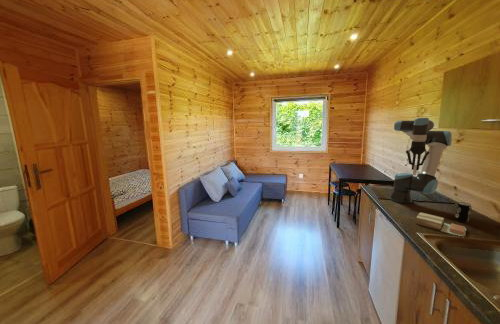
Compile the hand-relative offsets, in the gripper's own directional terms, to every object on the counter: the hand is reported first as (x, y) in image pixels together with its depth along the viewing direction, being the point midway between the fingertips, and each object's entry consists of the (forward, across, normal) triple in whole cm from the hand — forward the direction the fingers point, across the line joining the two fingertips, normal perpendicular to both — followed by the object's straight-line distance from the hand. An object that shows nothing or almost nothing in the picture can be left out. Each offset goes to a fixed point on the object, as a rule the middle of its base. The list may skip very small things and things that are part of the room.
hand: (414, 174), depth 143 cm
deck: (+29, +12, -11) cm, 33 cm away
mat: (+29, +24, -11) cm, 39 cm away
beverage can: (+29, +26, +9) cm, 40 cm away
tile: (+26, +25, -12) cm, 38 cm away
